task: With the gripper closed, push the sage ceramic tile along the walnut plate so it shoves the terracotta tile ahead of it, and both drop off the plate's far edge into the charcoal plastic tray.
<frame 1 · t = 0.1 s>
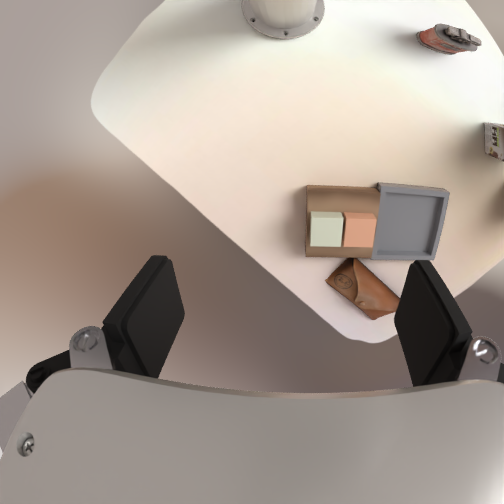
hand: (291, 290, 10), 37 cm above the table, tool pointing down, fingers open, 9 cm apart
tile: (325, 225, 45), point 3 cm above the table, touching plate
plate: (340, 218, 47), on the table
tile 1: (357, 226, 44), point 3 cm above the table, touching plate
tray: (407, 221, 45), on the table
coffee box: (498, 139, 33), on the table
lighter: (435, 43, 28), on the table
sunglasses case: (365, 288, 54), on the table
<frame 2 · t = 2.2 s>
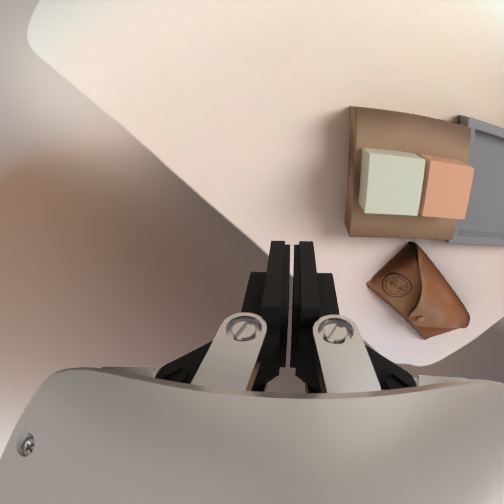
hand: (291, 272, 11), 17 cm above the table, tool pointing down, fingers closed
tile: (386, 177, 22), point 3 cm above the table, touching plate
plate: (404, 171, 24), on the table
tile 1: (437, 182, 21), point 3 cm above the table, touching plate
tray: (494, 185, 22), on the table
sunglasses case: (421, 295, 32), on the table
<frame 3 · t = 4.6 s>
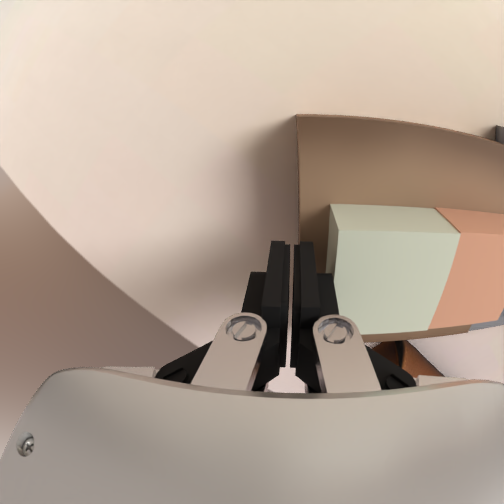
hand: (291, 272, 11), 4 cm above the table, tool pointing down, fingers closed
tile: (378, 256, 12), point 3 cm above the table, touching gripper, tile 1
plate: (401, 228, 14), on the table
tile 1: (462, 255, 11), point 3 cm above the table, touching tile
sunglasses case: (405, 383, 22), on the table
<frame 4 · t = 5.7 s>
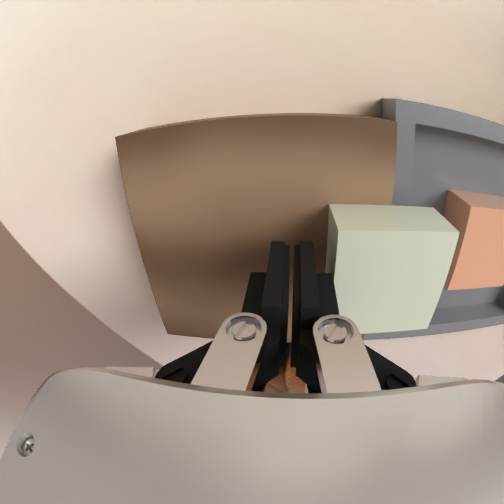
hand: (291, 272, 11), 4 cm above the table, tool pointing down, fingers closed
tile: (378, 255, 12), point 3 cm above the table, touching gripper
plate: (262, 225, 15), on the table
tile 1: (491, 251, 11), point 3 cm above the table, tilted 180°, touching tray
tray: (469, 229, 13), on the table
sunglasses case: (326, 390, 24), on the table
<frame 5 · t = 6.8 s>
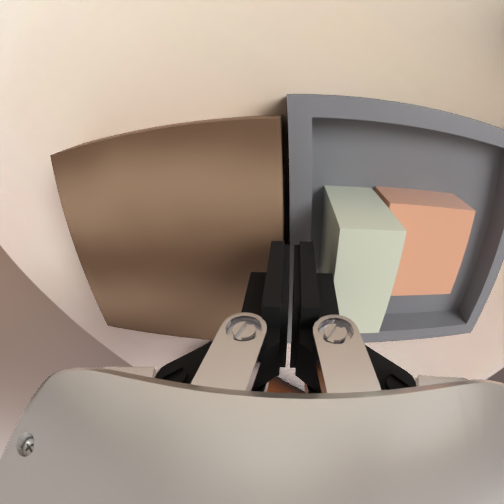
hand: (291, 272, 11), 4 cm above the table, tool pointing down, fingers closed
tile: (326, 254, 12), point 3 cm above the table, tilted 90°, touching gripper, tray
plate: (180, 227, 16), on the table
tile 1: (426, 254, 12), point 3 cm above the table, tilted 180°, touching tray
tray: (409, 230, 14), on the table
sunglasses case: (271, 392, 25), on the table
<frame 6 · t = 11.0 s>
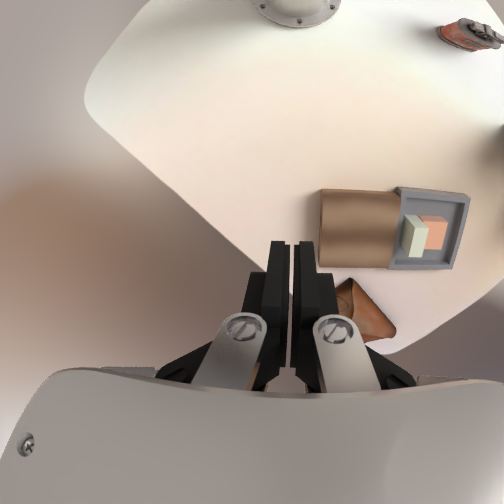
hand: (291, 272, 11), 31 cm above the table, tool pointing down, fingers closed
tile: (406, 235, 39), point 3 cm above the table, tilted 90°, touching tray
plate: (356, 225, 43), on the table
tile 1: (432, 235, 38), point 3 cm above the table, tilted 180°, touching tray
tray: (426, 228, 41), on the table
lighter: (456, 39, 23), on the table
sunglasses case: (359, 311, 52), on the table
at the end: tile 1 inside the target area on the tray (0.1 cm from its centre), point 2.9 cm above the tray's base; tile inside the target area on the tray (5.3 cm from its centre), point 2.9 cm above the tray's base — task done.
